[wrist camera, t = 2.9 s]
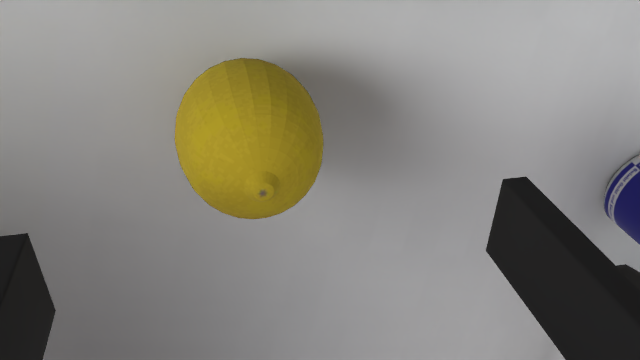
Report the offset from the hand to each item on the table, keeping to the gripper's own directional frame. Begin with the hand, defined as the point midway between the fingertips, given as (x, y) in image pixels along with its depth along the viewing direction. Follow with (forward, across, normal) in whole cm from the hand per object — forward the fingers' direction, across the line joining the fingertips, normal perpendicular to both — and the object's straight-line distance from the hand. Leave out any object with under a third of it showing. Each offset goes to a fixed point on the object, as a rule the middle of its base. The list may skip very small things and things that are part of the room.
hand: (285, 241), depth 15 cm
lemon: (+11, 0, 0) cm, 11 cm away
